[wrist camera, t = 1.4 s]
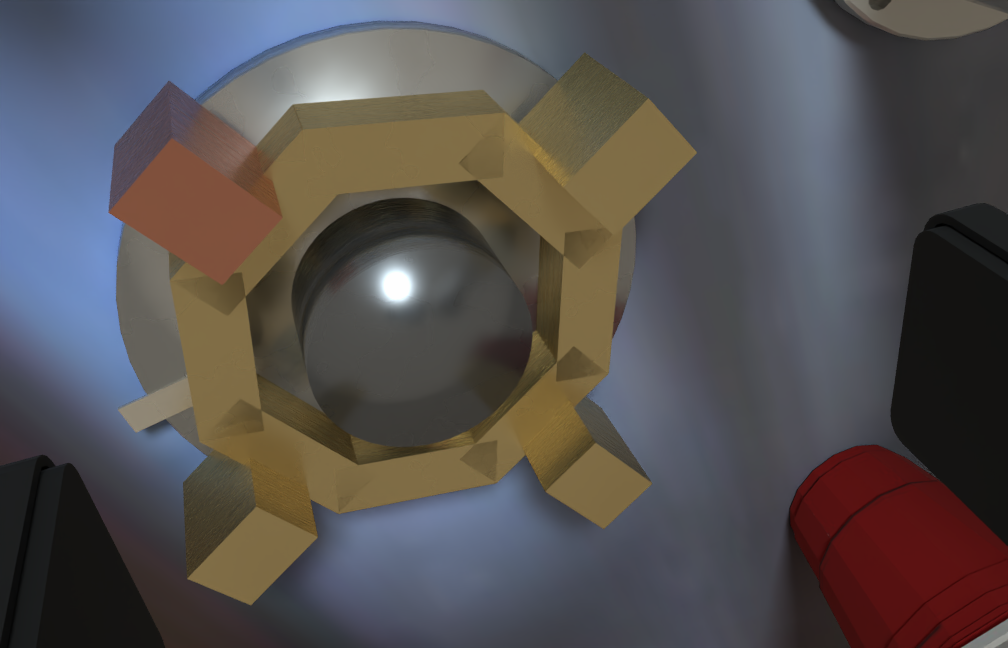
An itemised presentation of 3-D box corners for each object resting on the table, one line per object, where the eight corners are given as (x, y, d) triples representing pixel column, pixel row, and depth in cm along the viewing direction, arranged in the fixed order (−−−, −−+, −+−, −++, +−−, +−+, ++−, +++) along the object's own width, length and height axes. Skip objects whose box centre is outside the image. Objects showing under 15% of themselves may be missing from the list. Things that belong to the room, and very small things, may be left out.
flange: (646, 6, 28) (720, 46, 24) (604, 435, 36) (655, 513, 32) (37, 39, 23) (15, 94, 20) (149, 521, 32) (149, 622, 28)
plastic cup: (747, 423, 38) (951, 656, 29) (969, 374, 41) (1223, 571, 31) (719, 607, 44) (880, 853, 34) (915, 553, 47) (1115, 767, 37)
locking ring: (635, 49, 27) (705, 93, 24) (598, 442, 34) (647, 519, 31) (102, 84, 23) (93, 144, 20) (190, 519, 31) (195, 617, 27)
